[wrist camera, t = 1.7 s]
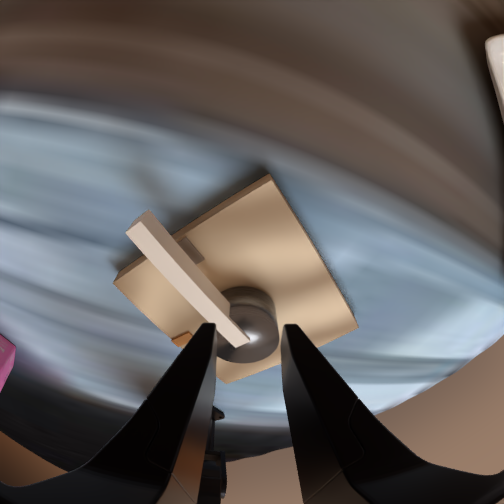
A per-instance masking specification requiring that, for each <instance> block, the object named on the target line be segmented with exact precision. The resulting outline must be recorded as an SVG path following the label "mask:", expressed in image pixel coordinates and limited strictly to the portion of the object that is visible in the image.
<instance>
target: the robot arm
mask: <svg viewBox="0 0 504 504" xmlns="http://www.w3.org/2000/svg"><path fill="white" fill-rule="evenodd" d="M280 348H281V367H282V385H283V394H284V399H285V405H286V410H287V416H288V421H289V427H290V432H291V437H292V443H293V448H294V454H295V459H296V465H297V470H298V476H299V481H300V487H301V493H302V498H303V503H304V504H504V470H503V471H501V472H500V473H498V474H494V475H479V474H473V473H468V472H464V471H459V470H455V469H451V468H447V467H443V466H439V465H435V464H432V463H429V462H427V461H425V460H423V459H421V458H420V457H418V456H417V455H416V454H415V453H413V452H412V451H411V450H410V449H409V448H408V447H407V446H405V445H404V444H403V443H402V442H401V441H400V440H399V439H398V438H397V437H395V436H394V435H393V434H392V433H391V432H390V431H389V430H388V429H387V428H386V427H385V426H384V425H383V424H382V423H380V421H379V420H378V419H377V418H376V417H375V416H374V415H373V414H372V413H371V412H370V411H369V409H368V408H367V407H366V406H365V405H364V404H363V402H362V401H361V400H360V399H358V397H357V395H356V394H355V393H354V392H353V391H352V389H351V388H350V387H349V386H348V385H347V383H346V382H345V381H344V380H343V379H342V377H341V376H340V375H339V374H338V373H337V371H336V370H335V369H334V368H333V367H332V365H331V364H330V363H329V362H328V361H327V359H326V358H325V357H324V356H323V355H322V353H321V352H320V351H319V350H318V349H317V347H316V346H315V345H314V344H313V342H312V341H311V340H310V339H309V338H308V336H307V335H306V334H305V333H304V332H303V330H302V329H301V328H300V327H299V325H297V324H284V326H283V331H282V337H281V345H280ZM216 363H217V329H216V324H215V323H207V322H204V323H202V324H201V325H200V327H199V328H198V329H197V331H196V332H195V333H194V335H193V336H192V338H191V339H190V340H189V342H188V343H187V344H186V346H185V347H184V348H183V350H182V351H181V352H180V354H179V355H178V356H177V358H176V359H175V360H174V362H173V363H172V364H171V366H170V367H169V368H168V370H167V371H166V372H165V374H164V375H163V377H162V378H161V379H160V381H159V382H158V383H157V385H156V386H155V387H154V389H153V390H152V391H151V393H150V394H149V395H148V397H147V400H144V402H143V403H142V405H141V406H140V407H139V409H138V410H137V411H136V412H135V414H134V415H133V416H132V417H131V419H130V420H129V421H128V422H127V423H126V424H125V425H124V426H123V427H122V429H121V430H120V431H119V432H118V433H117V434H116V435H115V436H114V437H113V438H112V439H111V440H110V441H109V442H108V443H107V444H106V445H105V446H104V447H103V448H102V449H101V450H100V451H99V452H98V453H97V454H96V455H95V456H94V457H93V458H92V459H91V460H90V461H88V462H87V463H86V464H84V465H83V466H81V467H80V468H78V469H76V470H73V471H71V472H68V473H65V474H62V475H59V476H56V477H53V478H50V479H47V480H44V481H41V482H37V483H34V484H31V485H27V486H22V487H13V486H8V485H6V484H4V483H3V482H1V481H0V504H220V503H221V498H224V496H225V493H226V487H227V486H226V485H227V475H226V462H225V451H213V450H214V428H215V421H216V420H220V419H224V418H225V415H224V414H223V413H222V412H220V411H218V410H217V409H215V408H214V407H213V401H214V395H215V386H216Z"/></svg>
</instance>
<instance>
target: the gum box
mask: <svg viewBox="0 0 504 504" xmlns="http://www.w3.org/2000/svg"><path fill="white" fill-rule="evenodd" d="M15 350H16V346H14V345H13V344H12V343H11V342H9V341H8V340H7V339H5V338H4V337H3V336H2V335H1V334H0V391H1V389H2V387H3V385H4V383H5V381H6V379H7V377H8V375H9V373H10V371H11V369H12V368H13V364H14V358H15Z"/></svg>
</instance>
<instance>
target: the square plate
mask: <svg viewBox="0 0 504 504" xmlns="http://www.w3.org/2000/svg"><path fill="white" fill-rule="evenodd" d="M485 50H486V59H487V64H488V68H489V71H490V75H491V79H492V82H493V85H494V89H495V92H496V96H497V100H498V104H499V107H500V111H501V115H502V119H503V123H504V34H500V35H496V36H493V37H490V38H488V39H487V40H486V41H485Z"/></svg>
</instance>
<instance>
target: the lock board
mask: <svg viewBox="0 0 504 504" xmlns="http://www.w3.org/2000/svg"><path fill="white" fill-rule="evenodd" d="M171 236H172V238H173V239H174V240H175V241H176V242H177V244H178V245H179V246H180V247H181V248H182V249H183V251H184V252H185V253H186V254H187V255H188V256H189V258H190V259H191V260H192V261H193V262H194V263H195V265H196V266H197V267H198V268H199V269H200V270H201V271H202V273H203V274H204V275H205V276H206V277H207V278H208V279H209V280H210V282H211V283H212V284H213V285H214V286H215V287H216V288H217V289H218V291H219V292H222V291H224V290H226V289H228V288H232V287H237V286H248V287H254V288H257V289H259V290H262V291H263V292H265V293H266V294H268V295H269V296H270V297H271V299H272V300H273V302H274V304H275V307H276V315H277V322H278V330H279V339H280V340H279V345H278V347H277V349H276V350H275V351H274V352H273V353H272V354H271V355H270V356H268V357H267V358H265V359H263V360H260V361H257V362H253V363H233V362H228V361H225V360H223V359H221V358H219V357H217V363H216V376H217V377H218V378H219V379H220V380H222V381H223V382H224V383H226V384H228V383H230V382H233V381H236V380H239V379H242V378H244V377H247V376H250V375H252V374H255V373H258V372H260V371H263V370H265V369H268V368H270V367H273V366H275V365H278V364H280V363H281V348H280V345H281V337H282V331H283V326H284V324H297V325H299V327H300V328H301V329H302V330H303V332H304V333H305V334H306V335H307V336H308V338H309V339H310V340H311V341H312V342H313V344H314V345H315V346H316V347H320V346H322V345H324V344H326V343H328V342H330V341H332V340H335V339H337V338H339V337H341V336H343V335H345V334H347V333H349V332H351V331H353V330H355V329H357V328H359V327H358V324H357V322H356V319H355V317H354V315H353V313H352V311H351V309H350V307H349V305H348V304H347V302H346V300H345V298H344V296H343V295H342V293H341V291H340V289H339V287H338V286H337V284H336V282H335V280H334V279H333V277H332V275H331V273H330V272H329V270H328V268H327V266H326V265H325V263H324V261H323V259H322V258H321V256H320V254H319V253H318V251H317V249H316V248H315V246H314V244H313V242H312V241H311V239H310V237H309V236H308V234H307V232H306V231H305V229H304V227H303V226H302V224H301V223H300V221H299V219H298V218H297V216H296V214H295V213H294V211H293V210H292V208H291V206H290V205H289V203H288V201H287V200H286V198H285V197H284V195H283V194H282V192H281V190H280V189H279V187H278V186H277V184H276V183H275V181H274V179H273V178H272V176H271V175H270V173H269V174H267V175H266V176H264V177H262V178H261V179H259V180H257V181H256V182H254V183H253V184H251V185H249V186H248V187H246V188H244V189H243V190H241V191H239V192H238V193H236V194H235V195H233V196H231V197H230V198H228V199H227V200H225V201H223V202H222V203H220V204H219V205H217V206H216V207H214V208H212V209H211V210H209V211H208V212H206V213H205V214H203V215H202V216H200V217H199V218H197V219H195V220H194V221H192V222H191V223H189V224H188V225H186V226H185V227H183V228H182V229H180V230H179V231H177V232H176V233H174V234H173V235H171ZM113 284H114V285H115V286H116V287H117V288H118V289H119V290H120V291H121V292H122V293H123V294H124V295H125V296H126V297H127V298H128V299H129V300H130V301H131V302H132V303H133V304H134V305H135V306H136V307H137V308H138V309H139V310H140V311H141V312H142V313H143V314H144V315H146V316H147V317H148V318H149V319H150V320H151V321H152V322H153V323H154V324H155V325H156V326H157V327H158V328H160V329H161V330H162V331H163V332H164V333H165V334H166V335H167V336H169V337H170V338H171V339H172V340H171V341H172V342H173V343H174V344H175V345H176V346H178V347H179V346H180V347H181V348H182V349H183V348H184V347H185V346H186V344H187V343H188V342H189V340H190V339H191V338H192V336H193V335H194V333H195V332H196V331H197V329H198V328H199V327H200V325H201V324H202V323H204V322H207V323H208V321H207V320H206V319H205V318H204V317H203V316H202V315H201V314H200V313H199V312H198V311H197V310H196V309H195V308H194V307H193V306H192V305H191V304H190V303H189V302H188V301H187V300H186V299H185V298H184V297H183V296H182V295H181V294H180V292H179V291H178V290H177V289H176V288H175V287H174V286H173V285H172V284H171V283H170V282H169V281H168V280H167V279H166V278H165V277H164V276H163V274H162V273H161V272H160V271H159V270H158V269H157V268H156V267H155V266H154V265H153V264H152V262H151V261H150V260H149V259H148V258H147V257H146V256H145V255H142V256H141V257H140V258H138V259H137V260H135V261H134V262H132V263H131V264H130V265H128V266H127V267H125V268H124V269H123V270H121V271H120V272H119V273H118V275H117V277H116V278H115V280H114V282H113Z"/></svg>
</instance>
